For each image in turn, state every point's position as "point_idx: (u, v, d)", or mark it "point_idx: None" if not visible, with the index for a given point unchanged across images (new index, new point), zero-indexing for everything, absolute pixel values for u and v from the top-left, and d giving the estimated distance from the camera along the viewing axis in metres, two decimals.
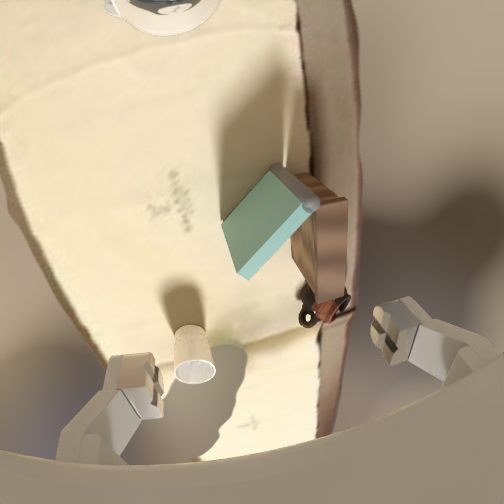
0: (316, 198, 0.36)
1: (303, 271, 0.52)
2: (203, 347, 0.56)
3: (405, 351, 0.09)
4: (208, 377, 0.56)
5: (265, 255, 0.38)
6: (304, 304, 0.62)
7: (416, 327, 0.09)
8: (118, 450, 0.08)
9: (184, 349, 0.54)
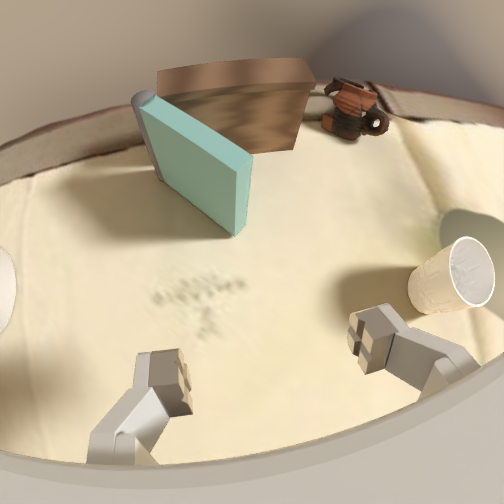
0: (136, 95, 0.25)
1: (293, 120, 0.35)
2: (434, 260, 0.30)
3: (381, 360, 0.09)
4: (482, 249, 0.28)
5: (209, 136, 0.24)
6: (359, 130, 0.41)
7: (392, 336, 0.09)
8: (147, 450, 0.08)
9: (437, 291, 0.29)
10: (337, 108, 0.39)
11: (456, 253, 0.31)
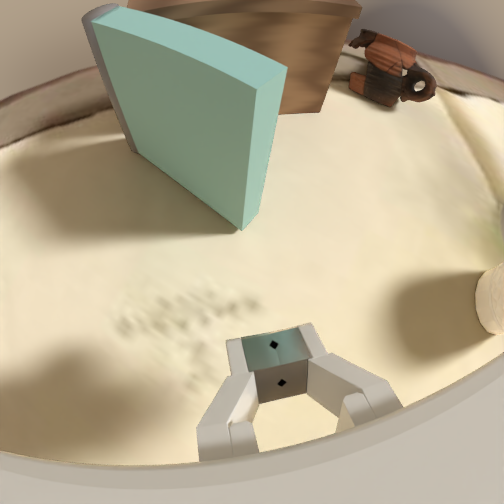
0: (92, 11, 0.12)
1: (325, 66, 0.22)
2: None
3: (299, 385, 0.09)
4: None
5: (203, 40, 0.11)
6: (398, 93, 0.28)
7: (305, 361, 0.08)
8: None
9: None
10: (371, 63, 0.26)
11: None
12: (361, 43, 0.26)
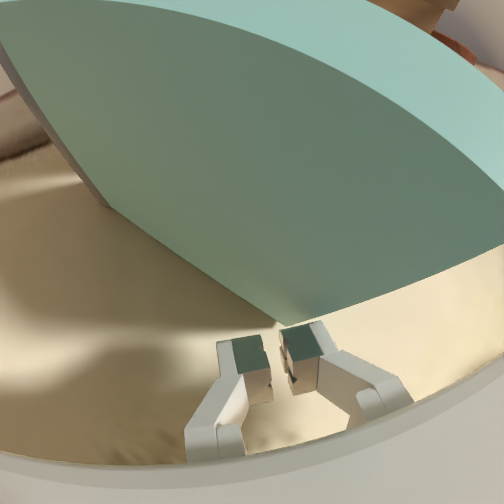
0: None
1: None
2: None
3: (309, 382, 0.09)
4: None
5: None
6: None
7: (316, 358, 0.09)
8: None
9: None
10: None
11: None
12: None
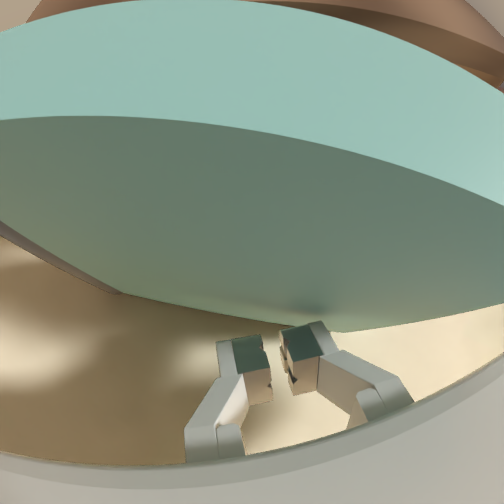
0: None
1: None
2: None
3: (309, 382, 0.09)
4: None
5: (457, 95, 0.02)
6: None
7: (316, 358, 0.09)
8: None
9: None
10: None
11: None
12: None
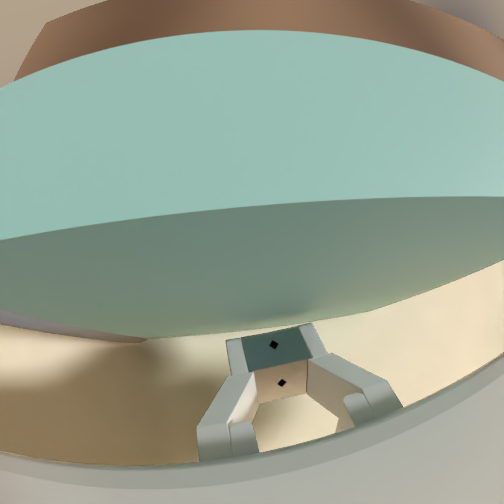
0: None
1: None
2: None
3: (299, 385, 0.09)
4: None
5: (502, 109, 0.03)
6: None
7: (305, 361, 0.08)
8: None
9: None
10: None
11: None
12: None
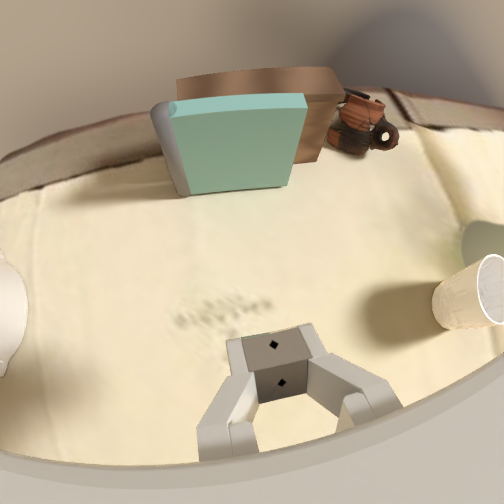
0: (152, 112, 0.24)
1: (319, 133, 0.34)
2: (460, 277, 0.29)
3: (299, 385, 0.09)
4: None
5: (261, 99, 0.24)
6: (367, 145, 0.39)
7: (305, 361, 0.08)
8: None
9: (464, 309, 0.27)
10: (344, 122, 0.37)
11: (480, 269, 0.29)
12: None
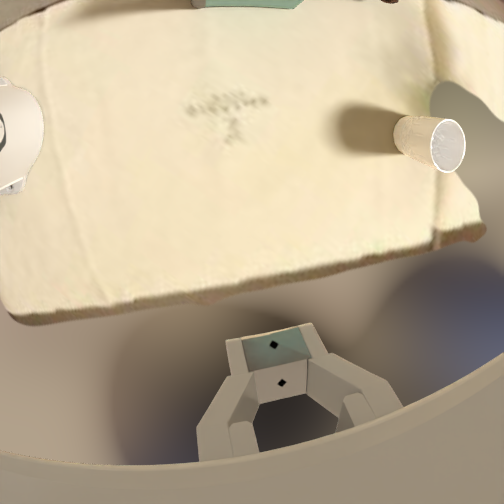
0: None
1: None
2: (421, 123, 0.36)
3: (299, 385, 0.09)
4: (461, 132, 0.34)
5: None
6: None
7: (305, 361, 0.08)
8: None
9: (417, 147, 0.37)
10: None
11: None
12: None
